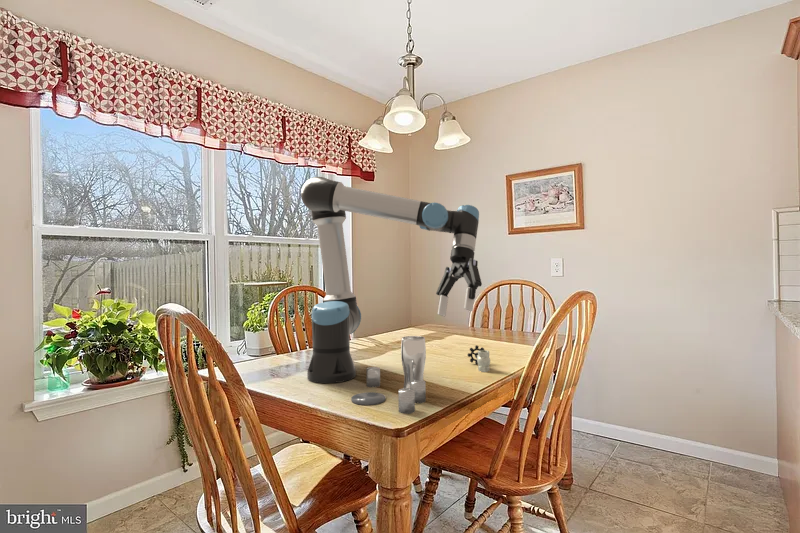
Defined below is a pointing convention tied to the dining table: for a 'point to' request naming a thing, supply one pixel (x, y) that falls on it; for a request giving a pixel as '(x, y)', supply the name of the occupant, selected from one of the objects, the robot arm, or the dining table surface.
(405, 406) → the cylinder
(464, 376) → the dining table surface
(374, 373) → the spacer
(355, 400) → the coaster
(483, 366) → the valve
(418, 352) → the beer glass
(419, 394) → the cylinder
